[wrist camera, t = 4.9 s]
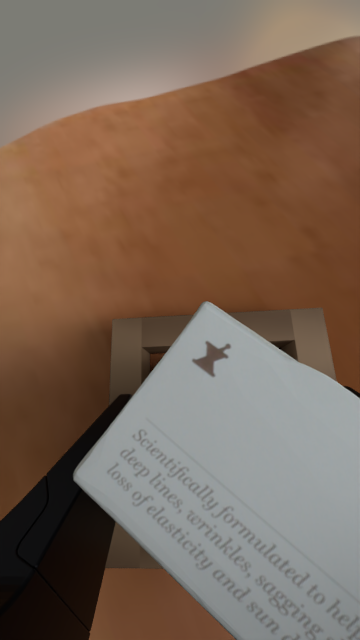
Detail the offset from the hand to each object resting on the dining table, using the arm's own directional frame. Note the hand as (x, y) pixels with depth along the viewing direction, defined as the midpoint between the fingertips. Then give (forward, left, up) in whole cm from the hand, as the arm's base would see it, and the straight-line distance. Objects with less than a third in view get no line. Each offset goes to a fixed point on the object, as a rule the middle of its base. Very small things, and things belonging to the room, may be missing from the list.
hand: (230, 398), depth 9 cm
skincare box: (-1, -1, -7) cm, 7 cm away
